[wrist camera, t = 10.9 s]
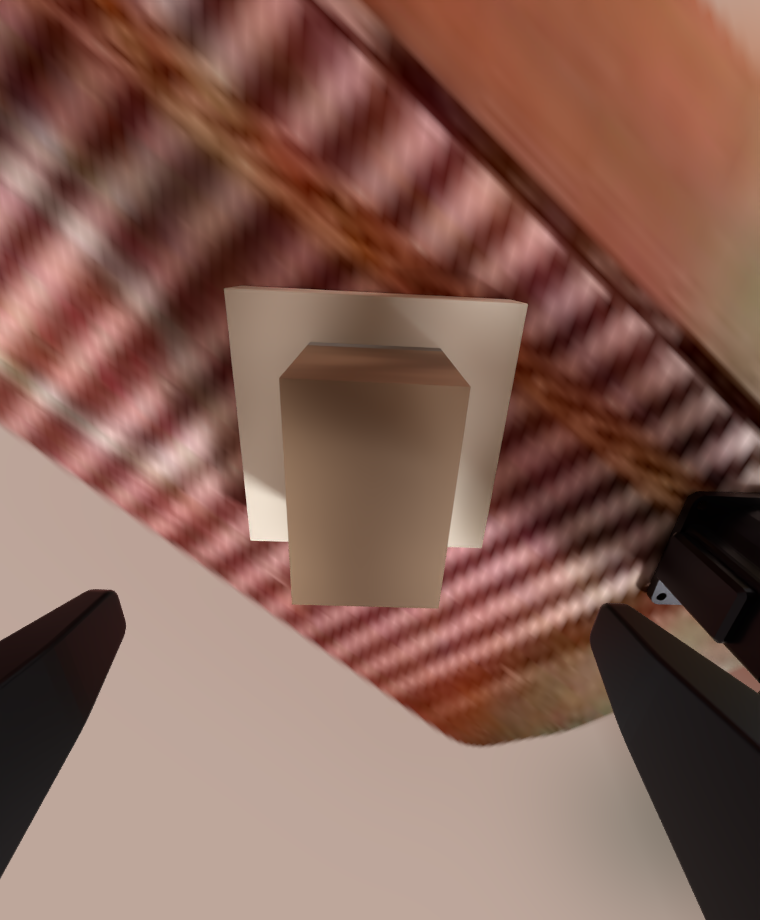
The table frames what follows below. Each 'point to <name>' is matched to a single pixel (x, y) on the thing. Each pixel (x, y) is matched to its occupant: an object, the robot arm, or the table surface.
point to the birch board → (369, 323)
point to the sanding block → (370, 472)
